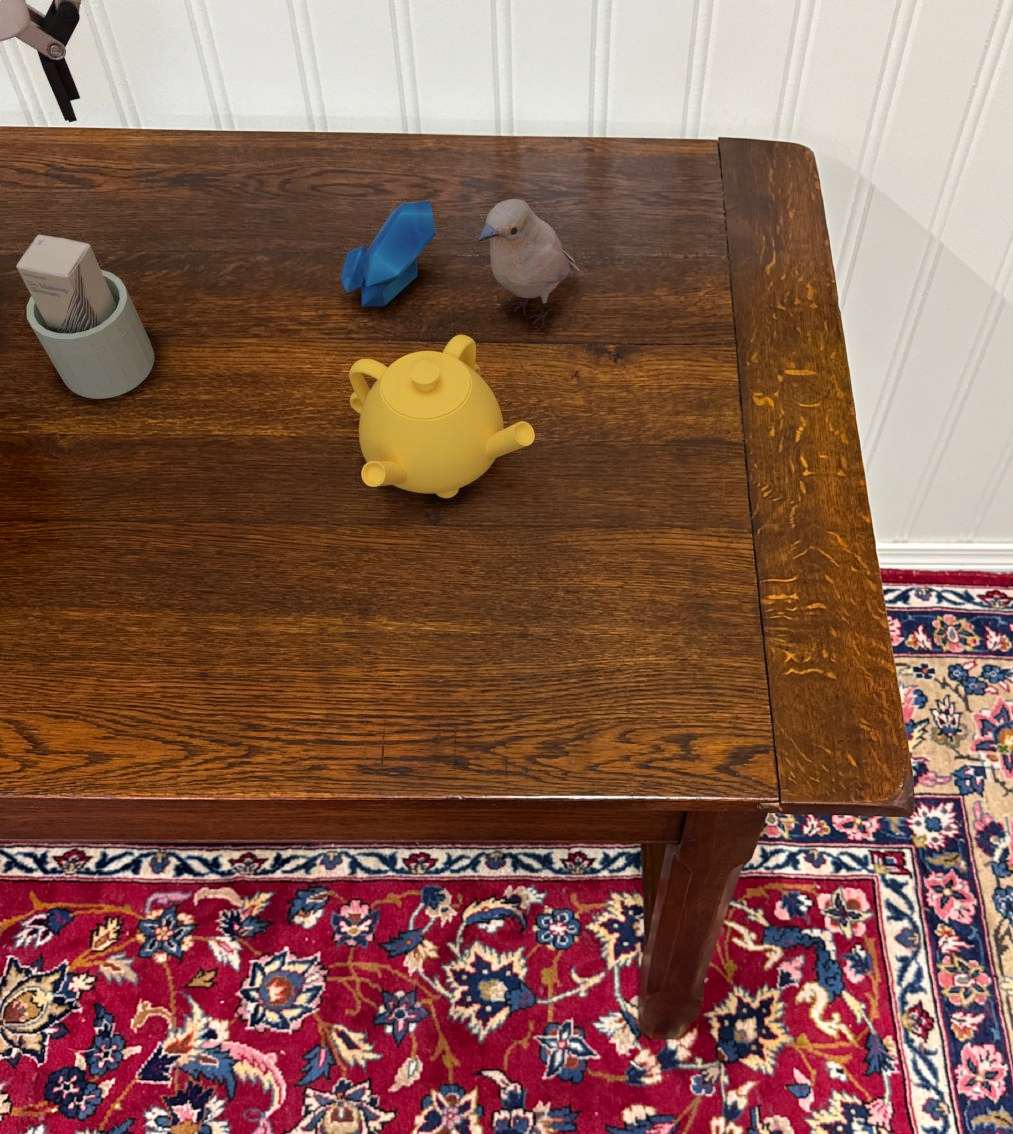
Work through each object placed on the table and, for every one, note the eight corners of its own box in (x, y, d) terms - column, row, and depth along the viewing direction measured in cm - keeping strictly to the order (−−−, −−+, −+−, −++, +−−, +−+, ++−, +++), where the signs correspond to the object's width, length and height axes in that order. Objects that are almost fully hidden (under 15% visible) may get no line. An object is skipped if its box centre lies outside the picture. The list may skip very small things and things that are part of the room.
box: (69, 371, 94) (9, 266, 83) (90, 338, 96) (34, 231, 85) (120, 381, 93) (67, 276, 82) (140, 347, 95) (90, 241, 84)
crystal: (313, 257, 93) (384, 164, 95) (340, 311, 101) (405, 223, 103) (376, 287, 91) (447, 191, 93) (399, 339, 99) (463, 250, 101)
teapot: (377, 542, 84) (359, 463, 75) (340, 423, 91) (320, 337, 82) (536, 498, 87) (539, 416, 77) (489, 386, 93) (486, 297, 84)
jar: (63, 407, 93) (26, 347, 86) (60, 340, 97) (25, 278, 90) (158, 388, 94) (129, 327, 87) (151, 323, 98) (123, 260, 91)
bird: (464, 338, 97) (456, 212, 84) (555, 267, 102) (561, 137, 89) (501, 363, 95) (498, 239, 82) (592, 289, 100) (603, 161, 87)
